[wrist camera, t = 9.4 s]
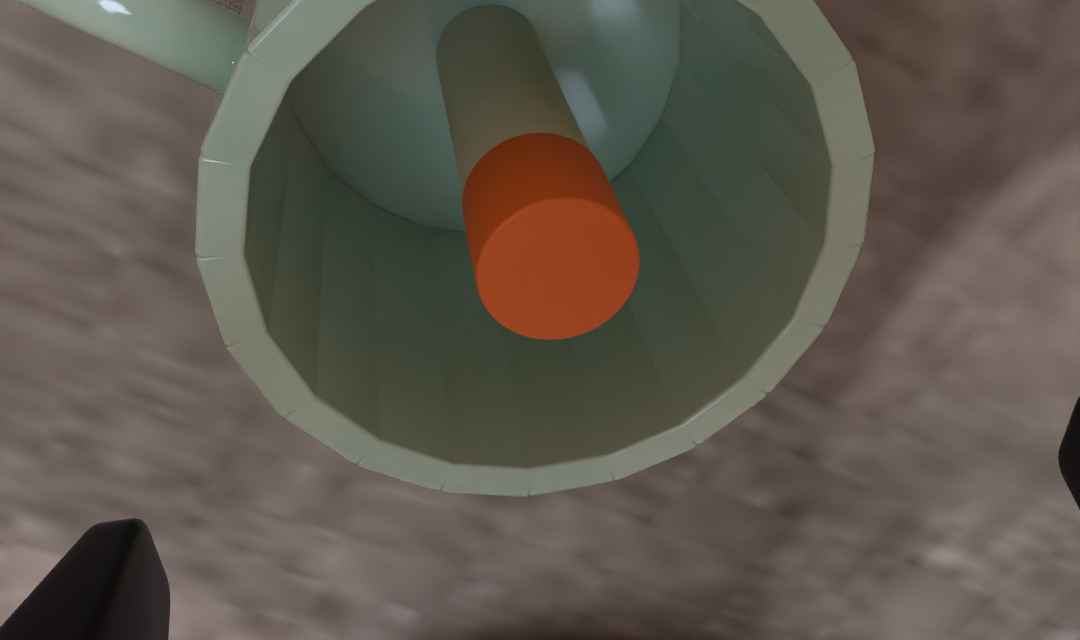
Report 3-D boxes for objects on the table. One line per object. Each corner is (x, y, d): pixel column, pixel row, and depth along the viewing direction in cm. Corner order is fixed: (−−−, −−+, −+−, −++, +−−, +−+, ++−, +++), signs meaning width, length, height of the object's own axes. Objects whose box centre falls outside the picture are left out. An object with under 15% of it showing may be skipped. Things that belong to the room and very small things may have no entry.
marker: (493, -24, 18) (574, 165, 11) (563, 59, 19) (673, 274, 12) (410, 51, 18) (441, 271, 12) (482, 128, 20) (546, 367, 13)
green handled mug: (786, -45, 19) (1008, 115, 13) (555, 296, 23) (635, 554, 16) (185, -447, 14) (46, -524, 8) (15, 67, 18) (-174, 302, 12)
